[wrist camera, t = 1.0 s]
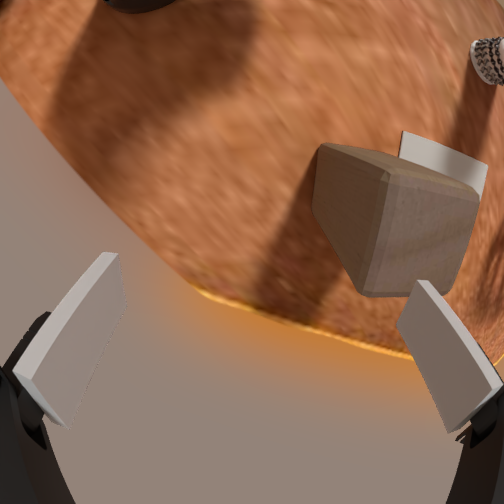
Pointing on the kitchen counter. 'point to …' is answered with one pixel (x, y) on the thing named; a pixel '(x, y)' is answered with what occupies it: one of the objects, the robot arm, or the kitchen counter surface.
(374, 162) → the wooden block
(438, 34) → the kitchen counter surface
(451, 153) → the mat
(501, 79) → the decorative candle
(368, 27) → the kitchen counter surface
